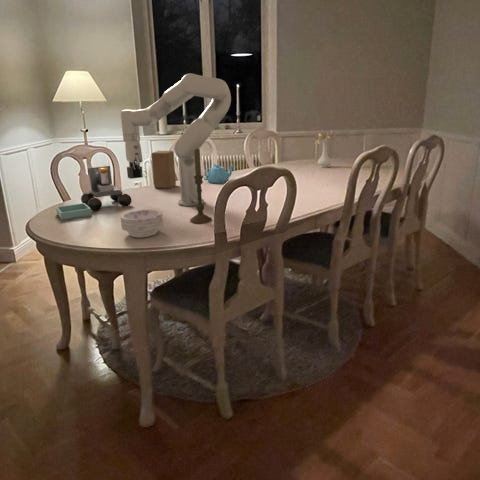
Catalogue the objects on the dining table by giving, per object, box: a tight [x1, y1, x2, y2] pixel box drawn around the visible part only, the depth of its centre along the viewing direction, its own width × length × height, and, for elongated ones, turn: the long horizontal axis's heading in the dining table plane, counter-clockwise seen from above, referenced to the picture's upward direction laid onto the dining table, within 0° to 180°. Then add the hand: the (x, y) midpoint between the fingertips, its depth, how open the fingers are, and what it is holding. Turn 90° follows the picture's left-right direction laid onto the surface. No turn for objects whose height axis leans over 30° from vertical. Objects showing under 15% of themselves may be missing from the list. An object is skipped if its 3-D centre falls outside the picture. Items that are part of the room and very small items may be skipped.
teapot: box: [203, 162, 235, 184], centre depth 254 cm, size 15×15×10 cm
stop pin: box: [99, 168, 109, 186], centre depth 201 cm, size 4×4×10 cm
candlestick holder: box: [189, 147, 213, 225], centre depth 173 cm, size 9×9×30 cm
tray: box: [55, 203, 93, 221], centre depth 190 cm, size 12×12×4 cm
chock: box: [126, 165, 144, 179], centre depth 202 cm, size 4×6×5 cm, turn 122°
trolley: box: [80, 165, 132, 212], centre depth 203 cm, size 15×20×18 cm
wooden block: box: [150, 150, 177, 189], centre depth 242 cm, size 10×10×20 cm
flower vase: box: [311, 129, 338, 169], centre depth 291 cm, size 13×18×25 cm
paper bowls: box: [120, 209, 164, 239], centre depth 161 cm, size 15×15×8 cm
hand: (135, 176), depth 203 cm, fingers closed on chock, 4 cm apart
